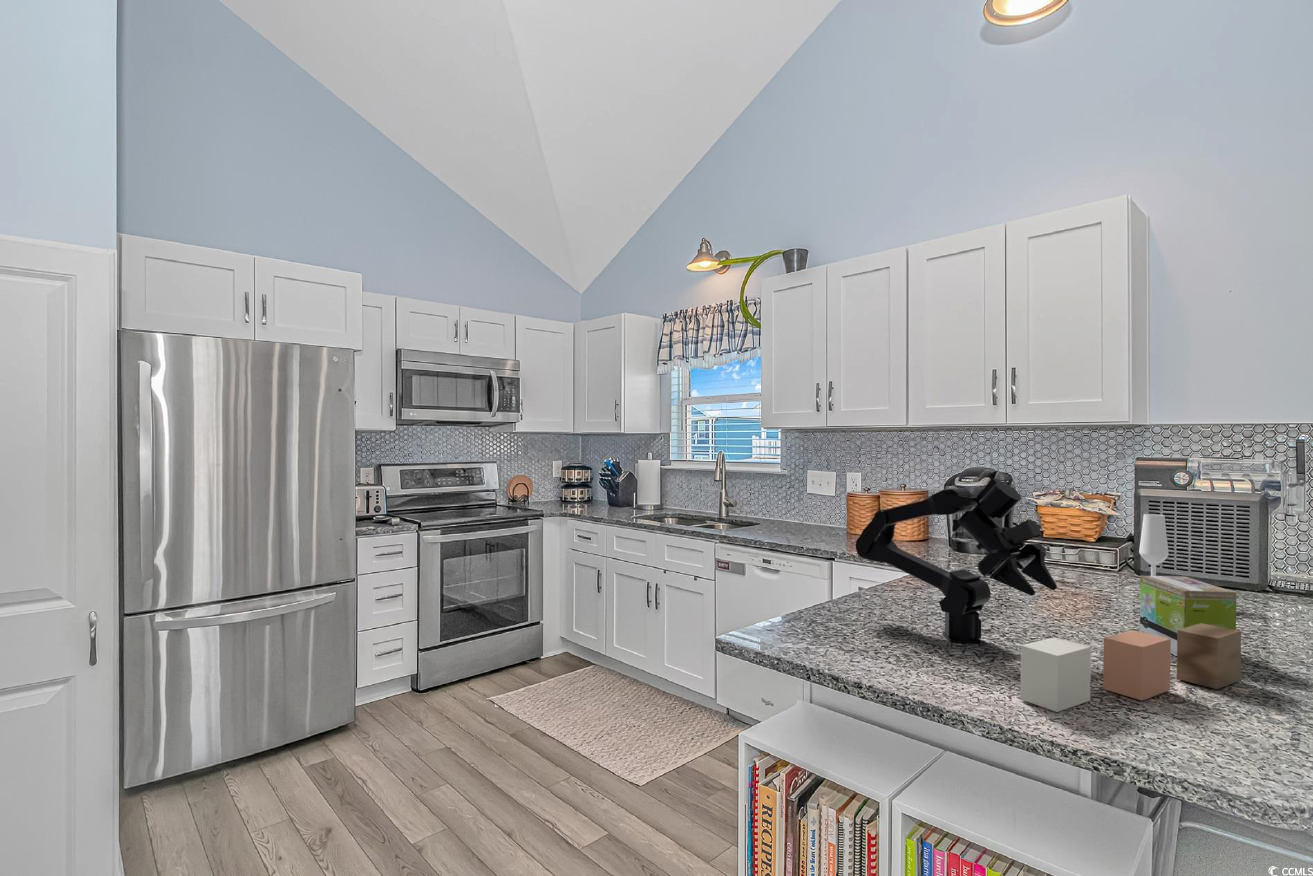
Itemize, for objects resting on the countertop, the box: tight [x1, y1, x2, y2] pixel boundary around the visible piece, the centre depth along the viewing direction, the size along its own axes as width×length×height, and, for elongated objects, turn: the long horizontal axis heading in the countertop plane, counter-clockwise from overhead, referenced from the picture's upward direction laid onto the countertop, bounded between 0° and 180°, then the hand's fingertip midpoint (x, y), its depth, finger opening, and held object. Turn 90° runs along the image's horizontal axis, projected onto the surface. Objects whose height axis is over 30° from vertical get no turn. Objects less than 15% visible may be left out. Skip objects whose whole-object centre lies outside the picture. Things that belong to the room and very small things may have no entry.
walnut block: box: [1176, 623, 1242, 690], centre depth 121 cm, size 6×10×9 cm, turn 120°
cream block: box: [1019, 637, 1092, 713], centre depth 110 cm, size 6×10×9 cm, turn 120°
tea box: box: [1139, 575, 1237, 657], centre depth 139 cm, size 15×10×15 cm, turn 174°
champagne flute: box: [1138, 513, 1170, 576], centre depth 187 cm, size 7×7×24 cm
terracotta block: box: [1102, 629, 1171, 701], centre depth 115 cm, size 6×10×9 cm, turn 120°
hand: (1044, 591), depth 131 cm, fingers open, 9 cm apart
